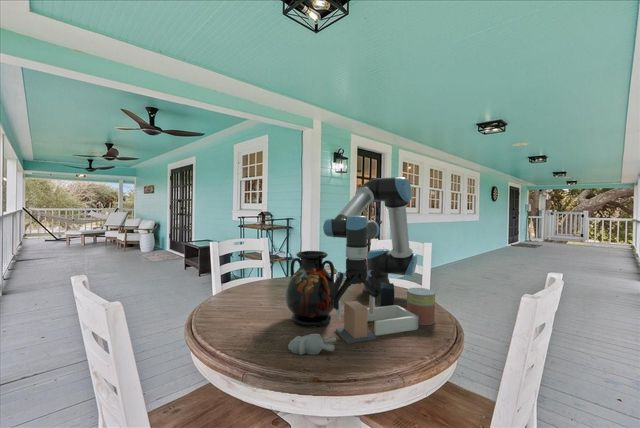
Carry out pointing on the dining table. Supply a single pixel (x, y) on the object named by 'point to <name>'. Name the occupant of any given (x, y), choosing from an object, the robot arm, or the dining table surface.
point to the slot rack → (392, 320)
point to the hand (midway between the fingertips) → (355, 315)
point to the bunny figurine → (310, 344)
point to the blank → (355, 319)
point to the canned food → (422, 304)
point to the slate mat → (350, 339)
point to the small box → (387, 294)
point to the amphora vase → (310, 290)
